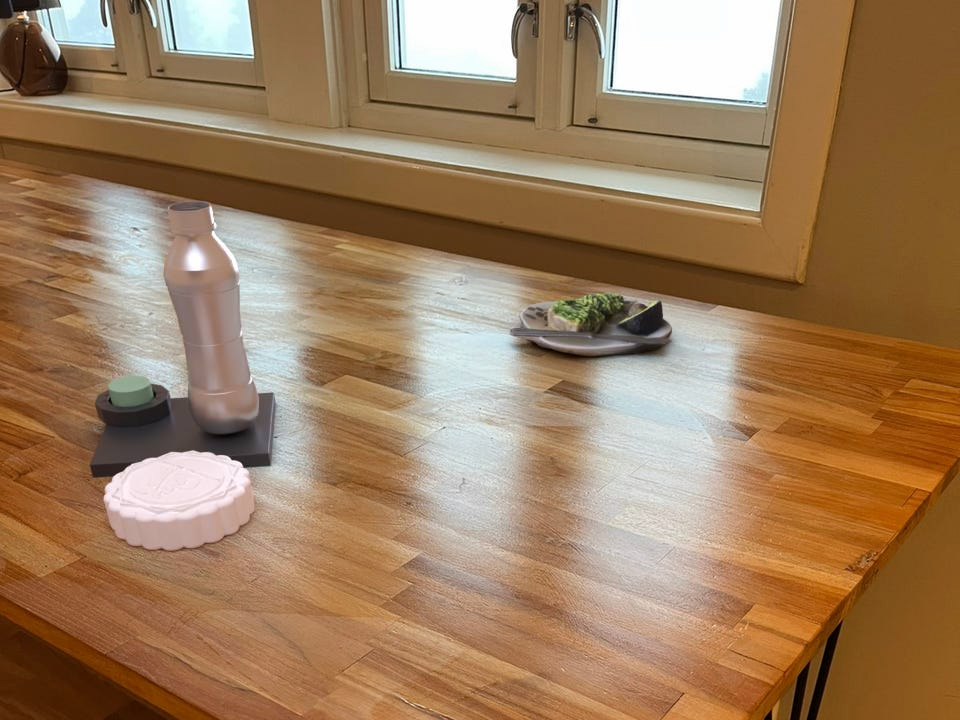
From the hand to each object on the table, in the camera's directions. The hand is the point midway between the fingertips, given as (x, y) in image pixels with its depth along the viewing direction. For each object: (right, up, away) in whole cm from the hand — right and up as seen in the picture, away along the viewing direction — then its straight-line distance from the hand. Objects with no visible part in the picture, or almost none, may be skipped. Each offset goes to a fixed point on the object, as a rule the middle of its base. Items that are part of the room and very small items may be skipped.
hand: (8, 12), depth 82 cm
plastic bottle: (+16, -33, +11) cm, 38 cm away
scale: (+12, -34, +13) cm, 38 cm away
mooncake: (+15, -43, +1) cm, 45 cm away
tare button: (+6, -30, +14) cm, 33 cm away
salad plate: (+54, -16, +35) cm, 66 cm away
